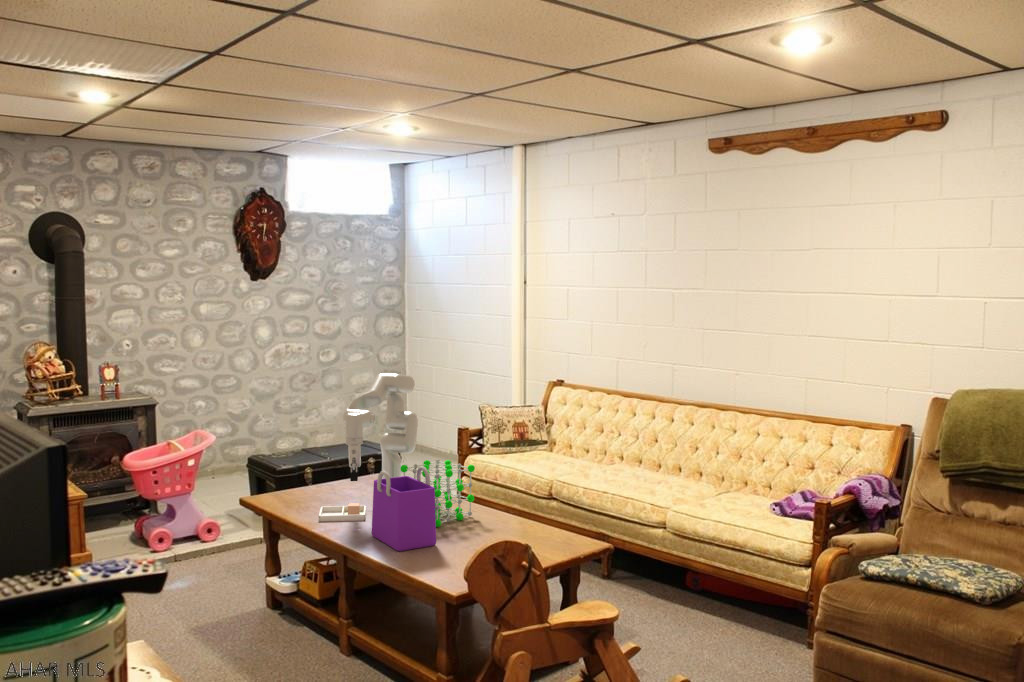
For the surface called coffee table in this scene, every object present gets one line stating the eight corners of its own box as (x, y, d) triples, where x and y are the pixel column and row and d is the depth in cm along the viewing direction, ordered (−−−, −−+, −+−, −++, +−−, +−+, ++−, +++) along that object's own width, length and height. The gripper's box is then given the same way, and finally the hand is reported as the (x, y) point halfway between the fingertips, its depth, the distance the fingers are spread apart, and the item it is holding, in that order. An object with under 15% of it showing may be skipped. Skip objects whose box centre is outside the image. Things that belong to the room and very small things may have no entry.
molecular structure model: (475, 517, 391) (476, 464, 390) (437, 528, 372) (437, 473, 370) (437, 507, 407) (438, 456, 405) (398, 518, 387) (398, 464, 386)
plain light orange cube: (359, 514, 391) (359, 503, 390) (359, 516, 386) (359, 505, 385) (348, 514, 390) (348, 503, 390) (347, 517, 385) (347, 506, 385)
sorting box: (365, 511, 396) (365, 505, 396) (365, 521, 381) (365, 514, 380) (321, 512, 393) (321, 506, 393) (318, 522, 378) (318, 515, 377)
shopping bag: (361, 538, 356) (361, 466, 354) (403, 528, 371) (403, 459, 369) (403, 554, 336) (404, 478, 334) (446, 543, 351) (447, 470, 349)
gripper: (362, 444, 377) (362, 482, 379) (363, 436, 395) (363, 473, 396) (344, 444, 376) (345, 483, 378) (346, 436, 393) (346, 473, 395)
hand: (354, 478), depth 387 cm, fingers open, 9 cm apart
